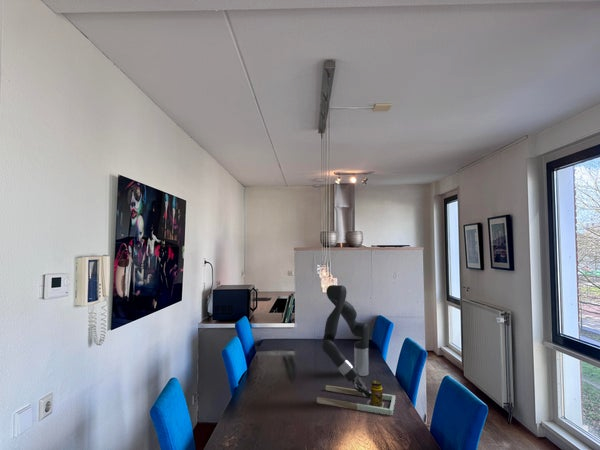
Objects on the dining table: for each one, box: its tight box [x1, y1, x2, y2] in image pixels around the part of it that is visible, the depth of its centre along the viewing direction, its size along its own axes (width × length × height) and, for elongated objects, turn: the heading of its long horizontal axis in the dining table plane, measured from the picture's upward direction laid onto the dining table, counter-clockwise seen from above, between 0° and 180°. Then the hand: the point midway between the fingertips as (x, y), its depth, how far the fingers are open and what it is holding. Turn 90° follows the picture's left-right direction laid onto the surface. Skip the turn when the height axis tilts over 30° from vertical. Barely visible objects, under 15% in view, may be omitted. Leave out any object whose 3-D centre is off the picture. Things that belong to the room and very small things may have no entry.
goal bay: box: [357, 391, 397, 416], centre depth 181 cm, size 18×18×2 cm
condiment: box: [366, 380, 385, 408], centre depth 182 cm, size 7×8×12 cm
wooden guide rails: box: [316, 384, 364, 410], centre depth 188 cm, size 18×22×2 cm
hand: (370, 396), depth 183 cm, fingers closed
